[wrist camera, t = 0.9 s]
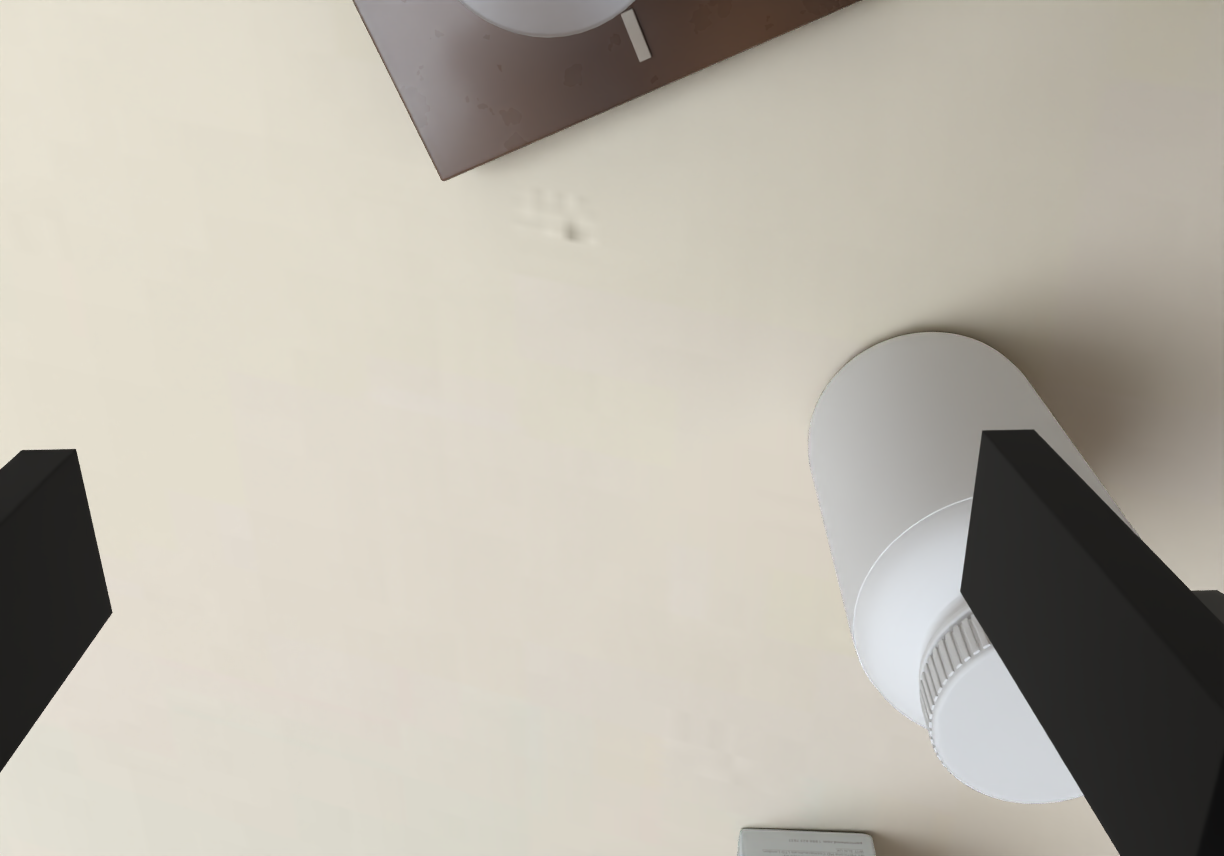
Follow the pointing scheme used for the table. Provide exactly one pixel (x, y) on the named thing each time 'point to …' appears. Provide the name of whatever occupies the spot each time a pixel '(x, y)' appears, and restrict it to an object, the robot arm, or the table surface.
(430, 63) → the panel
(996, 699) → the pill bottle
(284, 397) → the table surface
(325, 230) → the table surface
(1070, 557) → the robot arm
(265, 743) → the table surface
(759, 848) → the cosmetic box
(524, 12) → the dial
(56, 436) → the table surface
